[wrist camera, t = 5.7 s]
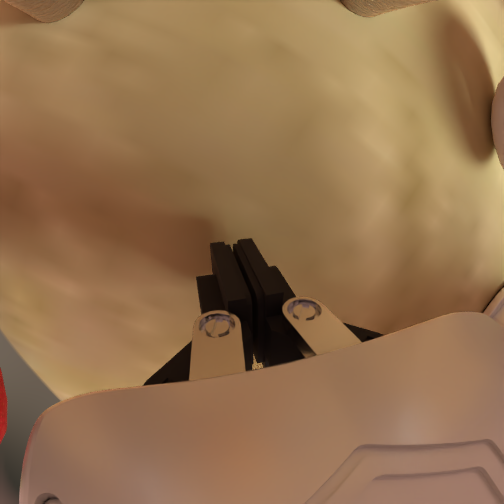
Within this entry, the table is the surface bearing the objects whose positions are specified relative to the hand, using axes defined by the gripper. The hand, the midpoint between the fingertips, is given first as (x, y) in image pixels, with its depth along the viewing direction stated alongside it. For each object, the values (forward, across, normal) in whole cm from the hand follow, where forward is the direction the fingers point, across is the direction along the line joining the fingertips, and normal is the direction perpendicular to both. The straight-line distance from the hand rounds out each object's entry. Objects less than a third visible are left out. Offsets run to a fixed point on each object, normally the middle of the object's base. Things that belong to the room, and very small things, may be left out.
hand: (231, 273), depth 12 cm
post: (+2, +7, -13) cm, 15 cm away
